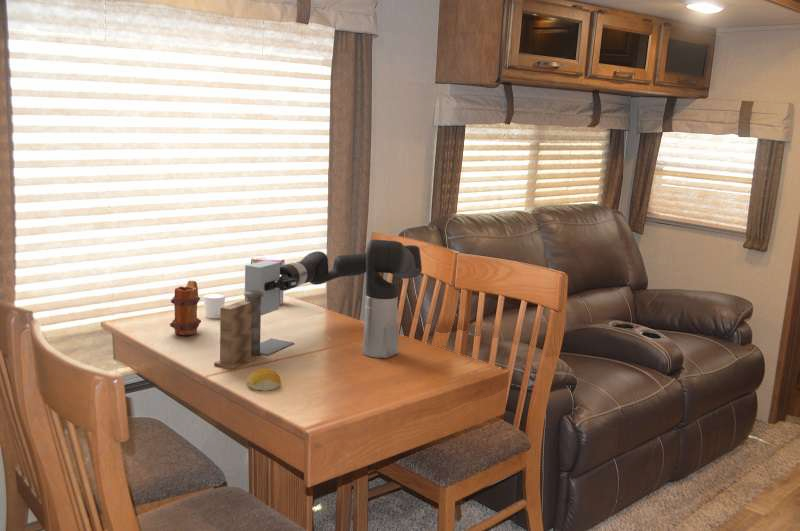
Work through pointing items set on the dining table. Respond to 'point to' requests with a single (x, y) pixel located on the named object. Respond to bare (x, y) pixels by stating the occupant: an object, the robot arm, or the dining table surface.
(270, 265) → the light grey block
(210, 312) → the beige cup
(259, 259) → the candy bar box
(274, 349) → the seat pad
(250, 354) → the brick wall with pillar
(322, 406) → the dining table surface
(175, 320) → the mug
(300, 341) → the dining table surface
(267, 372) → the bread roll
